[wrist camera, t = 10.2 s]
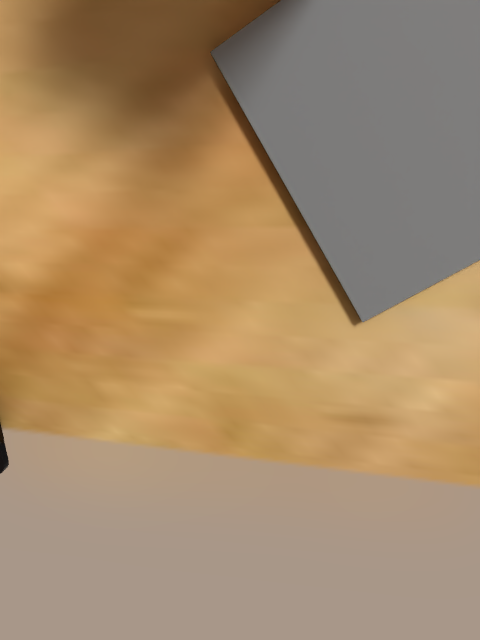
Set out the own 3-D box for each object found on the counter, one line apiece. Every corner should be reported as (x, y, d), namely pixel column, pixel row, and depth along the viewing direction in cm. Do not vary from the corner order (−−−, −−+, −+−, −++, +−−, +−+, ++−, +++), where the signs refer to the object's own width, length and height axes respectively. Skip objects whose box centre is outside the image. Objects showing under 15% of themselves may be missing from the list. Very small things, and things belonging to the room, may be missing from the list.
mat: (361, 319, 19) (362, 322, 19) (211, 55, 17) (210, 52, 16) (652, 163, 17) (661, 163, 16) (524, -173, 14) (530, -183, 14)
